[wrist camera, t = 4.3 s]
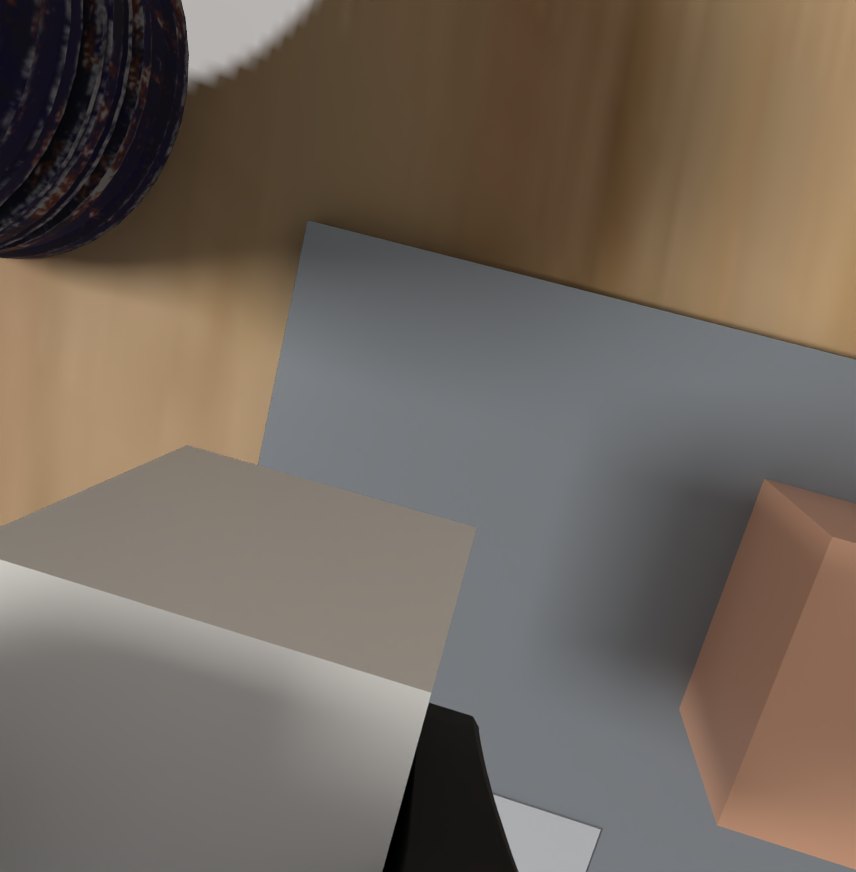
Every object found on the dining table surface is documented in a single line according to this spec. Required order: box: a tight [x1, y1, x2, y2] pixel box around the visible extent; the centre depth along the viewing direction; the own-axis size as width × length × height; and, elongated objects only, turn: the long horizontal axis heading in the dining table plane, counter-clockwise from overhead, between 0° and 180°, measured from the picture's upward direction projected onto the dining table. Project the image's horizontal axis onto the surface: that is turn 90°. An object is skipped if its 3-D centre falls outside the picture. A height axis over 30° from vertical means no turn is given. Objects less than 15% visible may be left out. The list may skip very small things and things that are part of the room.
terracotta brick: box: [679, 479, 856, 870], centre depth 15 cm, size 4×6×4 cm, turn 166°
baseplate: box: [258, 220, 856, 872], centre depth 19 cm, size 17×20×1 cm
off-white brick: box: [0, 445, 476, 872], centre depth 8 cm, size 4×6×4 cm, turn 166°
